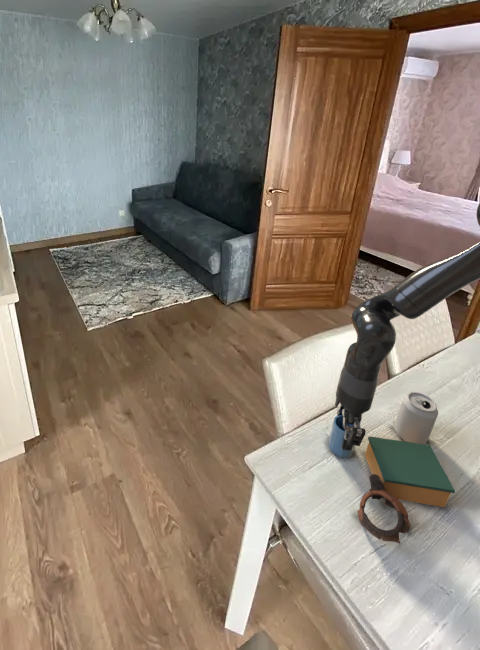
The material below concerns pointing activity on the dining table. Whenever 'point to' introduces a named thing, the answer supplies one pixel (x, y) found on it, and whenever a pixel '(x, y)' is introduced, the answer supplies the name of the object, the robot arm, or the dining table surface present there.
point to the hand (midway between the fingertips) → (342, 437)
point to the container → (409, 471)
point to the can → (416, 418)
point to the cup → (339, 438)
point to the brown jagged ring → (378, 493)
